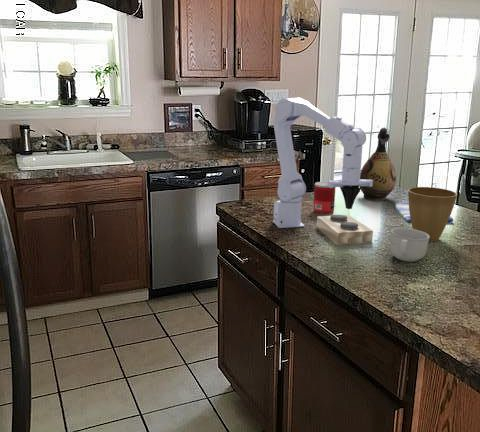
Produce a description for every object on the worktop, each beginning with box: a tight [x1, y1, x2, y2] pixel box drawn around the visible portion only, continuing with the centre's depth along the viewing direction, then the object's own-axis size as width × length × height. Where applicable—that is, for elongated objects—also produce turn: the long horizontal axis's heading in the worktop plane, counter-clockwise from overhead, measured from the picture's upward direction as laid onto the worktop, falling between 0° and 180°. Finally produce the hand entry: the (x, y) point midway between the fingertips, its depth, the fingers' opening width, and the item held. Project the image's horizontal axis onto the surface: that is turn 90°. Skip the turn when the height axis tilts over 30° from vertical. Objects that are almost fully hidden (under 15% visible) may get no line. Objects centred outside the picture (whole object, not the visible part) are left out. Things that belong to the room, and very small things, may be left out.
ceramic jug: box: [359, 127, 397, 202], centre depth 223 cm, size 17×15×30 cm
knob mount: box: [316, 214, 374, 246], centre depth 176 cm, size 12×19×4 cm, turn 12°
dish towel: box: [394, 201, 454, 225], centre depth 202 cm, size 17×24×3 cm
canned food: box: [313, 181, 336, 215], centre depth 204 cm, size 8×8×11 cm
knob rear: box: [330, 214, 347, 222], centre depth 180 cm, size 6×6×4 cm
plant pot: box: [407, 186, 458, 243], centre depth 171 cm, size 15×15×16 cm
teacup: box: [389, 227, 430, 263], centre depth 153 cm, size 14×11×8 cm
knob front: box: [341, 222, 358, 230], centre depth 172 cm, size 6×6×4 cm
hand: (348, 208), depth 171 cm, fingers closed
